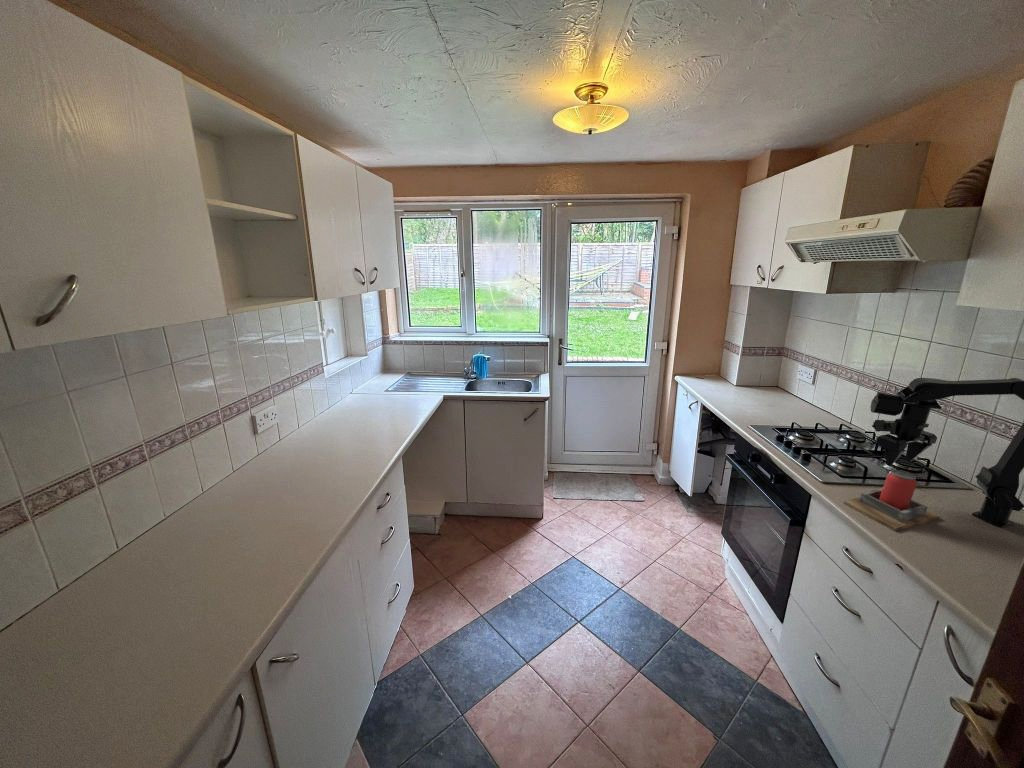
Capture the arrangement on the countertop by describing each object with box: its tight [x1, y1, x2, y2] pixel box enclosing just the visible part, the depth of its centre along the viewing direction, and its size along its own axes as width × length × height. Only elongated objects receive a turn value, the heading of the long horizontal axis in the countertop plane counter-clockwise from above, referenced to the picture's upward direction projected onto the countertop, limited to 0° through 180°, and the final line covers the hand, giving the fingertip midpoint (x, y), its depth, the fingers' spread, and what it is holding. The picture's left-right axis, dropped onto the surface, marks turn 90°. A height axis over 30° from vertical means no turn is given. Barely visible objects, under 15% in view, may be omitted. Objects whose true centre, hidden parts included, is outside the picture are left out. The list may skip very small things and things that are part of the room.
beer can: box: [879, 469, 917, 511], centre depth 121 cm, size 7×7×12 cm
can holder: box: [843, 487, 941, 532], centre depth 122 cm, size 20×14×4 cm
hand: (898, 463), depth 127 cm, fingers open, 9 cm apart
